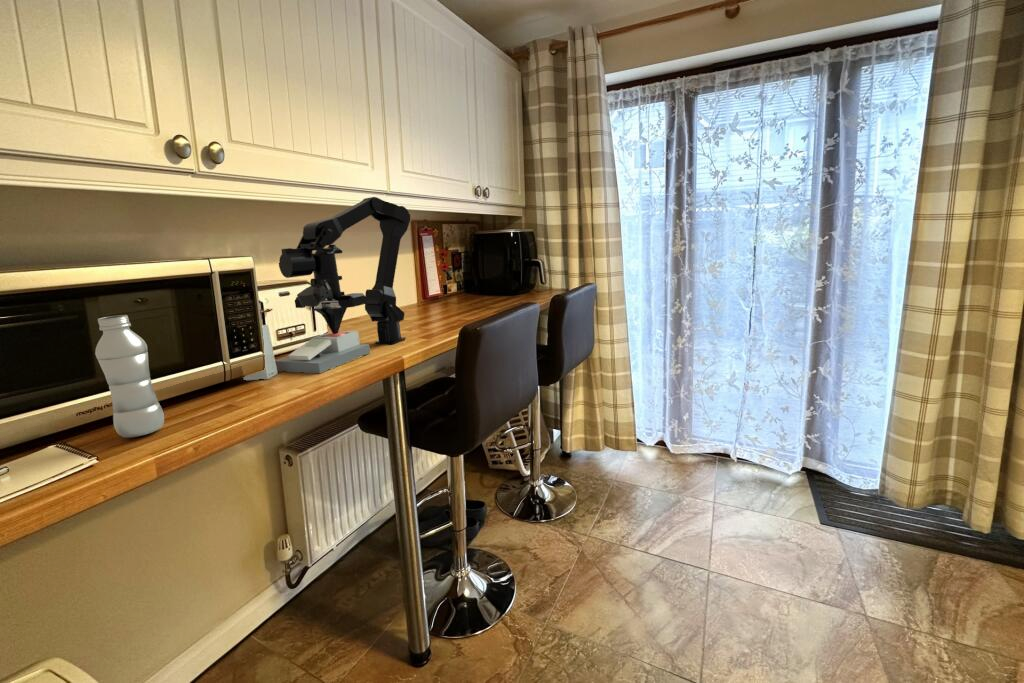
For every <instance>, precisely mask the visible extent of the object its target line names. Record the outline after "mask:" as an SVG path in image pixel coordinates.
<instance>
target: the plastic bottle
mask: <svg viewBox="0 0 1024 683" xmlns="http://www.w3.org/2000/svg"><path fill="white" fill-rule="evenodd" d="M97 323H98V325H99V328H98V329H99V331H102V335H101V337H100V339H99V340H98V343H97V344H96V347H95V352H94V354H95V357H96V359H97V361H98V364H99V366H100V368H101V370H102V372H103V374H104V377H105V381H106V382H107V385H108V389H109V391H110V397H111V403H112V404H111V405H112V410H113V413H112V420H113V421H112V422H113V427H114V429H115V431H116V433H117V435H119V436H121V437H122V438H126V439H127V438H128V439H129V438H137V437H141V436H142V437H143V436H146V435H148V434H152V433H154V432H157V431H158V430H161V428H163V425H164V423H165V414H164V411H163V408H162V406H161V405H160V402H159V400H158V397H157V394H156V393H155V392H156V391H155V389H154V386H153V384H152V378H151V372H150V367H149V365H150V364H149V352H148V350H149V349H148V344H147V343H146V341H145V339H143V338H142V337H141V336H140V335H138V334H137V333H135V332H134V331H133V330H132V329H130V327H132V324H131V322H130V319H129V316H128V314H120V315H111V316H104V317H100V318H97Z"/></svg>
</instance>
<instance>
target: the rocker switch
mask: <svg viewBox="0 0 1024 683" xmlns="http://www.w3.org/2000/svg"><path fill="white" fill-rule="evenodd" d="M329 345H331V341H330V340H322V339H309V340H308V341H306V342H305V343H303V344H302V345H301V346H300V347H298V348H297V349H295V350H294V351H292V352H291V353H289V354H288V356H289V358H290V359H291V360H310V359H312V358H313V357H314V356H316V355H317V354H319V353H320V352H321V351H323V350H324V349H325V348H327V347H328V346H329ZM288 356H287V357H288Z"/></svg>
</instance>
